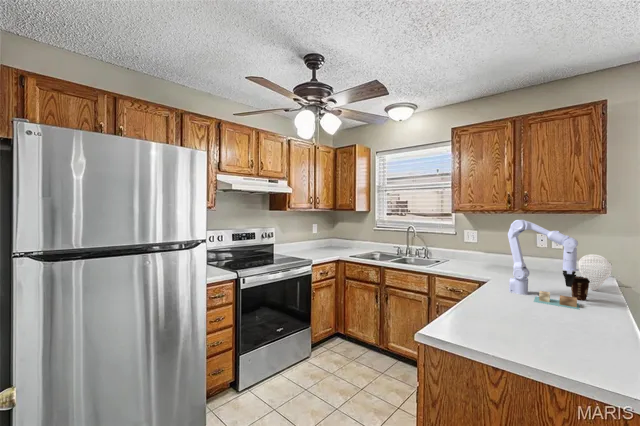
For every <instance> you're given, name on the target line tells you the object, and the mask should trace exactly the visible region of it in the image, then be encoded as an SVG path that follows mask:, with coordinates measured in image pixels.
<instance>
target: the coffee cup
mask: <svg viewBox="0 0 640 426" xmlns="http://www.w3.org/2000/svg"><path fill="white" fill-rule="evenodd" d="M588 278H589V277H588ZM588 278H586V277H585V278H584V277H582V275H581V276H577V275H576V277H575V278H574V280H573V284H572V287H570V290H571V297H575V298H577V301H582V302H587V297H588V294H589V293H588V292H589V289H590V288H589V283H590V282H591V281H589V279H588Z"/></svg>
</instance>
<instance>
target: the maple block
mask: <svg viewBox="0 0 640 426" xmlns="http://www.w3.org/2000/svg"><path fill="white" fill-rule="evenodd" d="M538 295H539V296H538V297H539V301H544V302H550V299H551V292H550V291H544V290H543V291H542V290H539V294H538Z"/></svg>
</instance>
